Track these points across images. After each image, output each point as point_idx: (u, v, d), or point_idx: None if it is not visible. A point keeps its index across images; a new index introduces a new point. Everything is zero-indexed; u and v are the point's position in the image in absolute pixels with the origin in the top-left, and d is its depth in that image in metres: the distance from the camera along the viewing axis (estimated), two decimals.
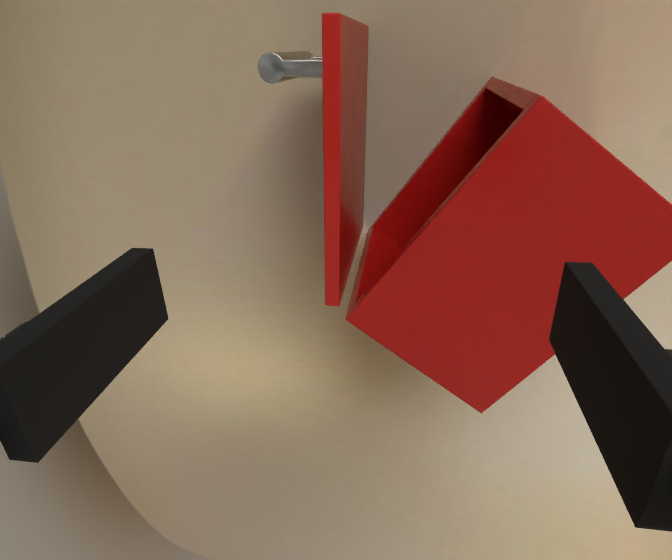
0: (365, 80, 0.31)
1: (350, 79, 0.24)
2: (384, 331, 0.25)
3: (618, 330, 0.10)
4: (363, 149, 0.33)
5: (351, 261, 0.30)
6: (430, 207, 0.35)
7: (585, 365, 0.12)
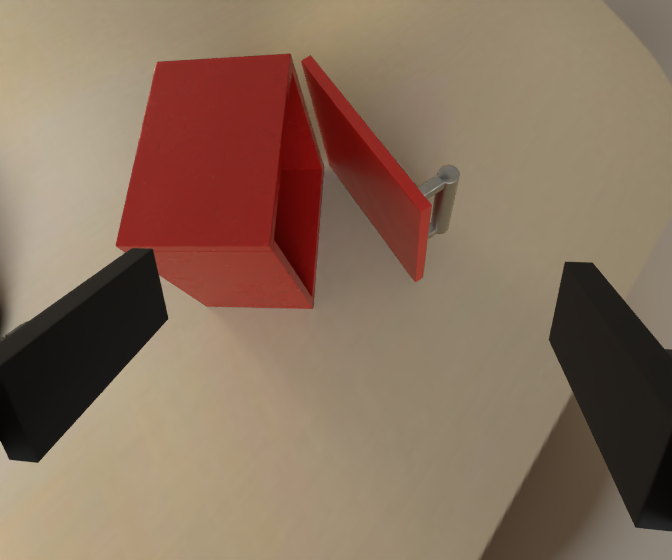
0: (393, 247, 0.39)
1: (394, 206, 0.31)
2: (259, 64, 0.31)
3: (618, 330, 0.10)
4: (364, 207, 0.40)
5: (316, 115, 0.36)
6: (292, 207, 0.42)
7: (585, 365, 0.12)
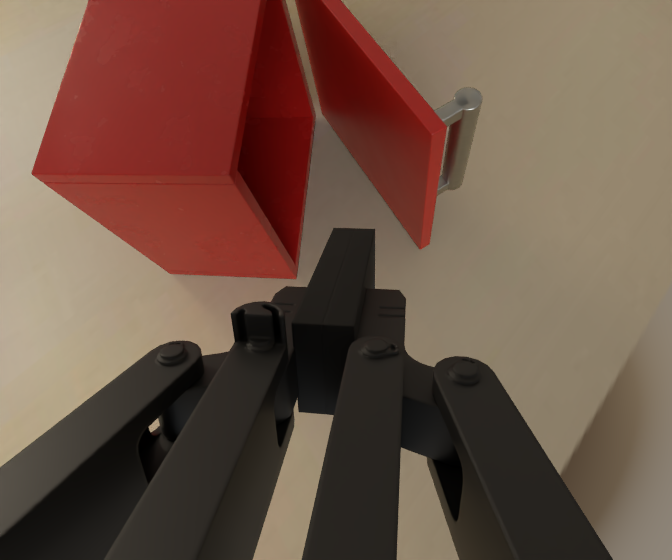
0: (394, 206, 0.32)
1: (397, 141, 0.24)
2: None
3: (343, 273, 0.13)
4: (361, 159, 0.34)
5: (305, 39, 0.30)
6: (276, 160, 0.36)
7: None
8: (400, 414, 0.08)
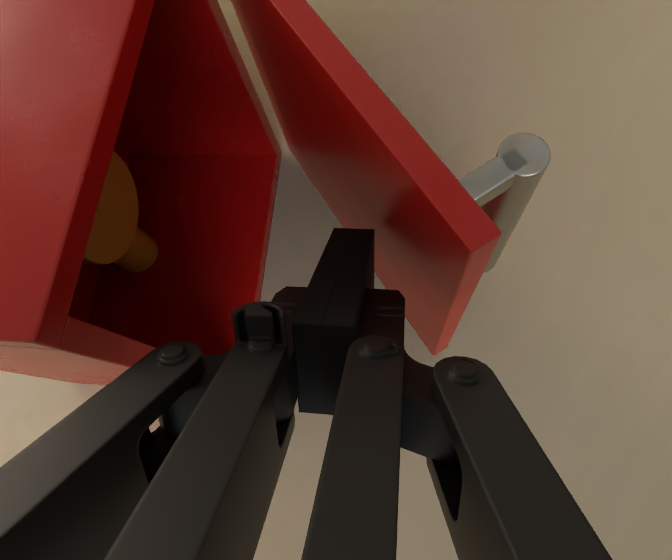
0: None
1: (398, 227, 0.14)
2: None
3: (342, 273, 0.13)
4: (343, 220, 0.23)
5: (251, 48, 0.19)
6: (223, 217, 0.25)
7: None
8: (400, 414, 0.08)
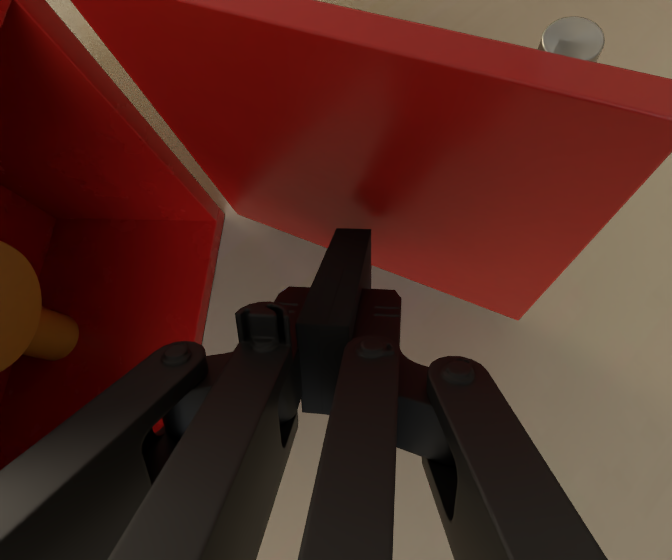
0: (445, 284, 0.19)
1: (488, 188, 0.11)
2: None
3: (338, 273, 0.13)
4: None
5: (166, 117, 0.16)
6: (153, 294, 0.22)
7: None
8: (396, 413, 0.08)
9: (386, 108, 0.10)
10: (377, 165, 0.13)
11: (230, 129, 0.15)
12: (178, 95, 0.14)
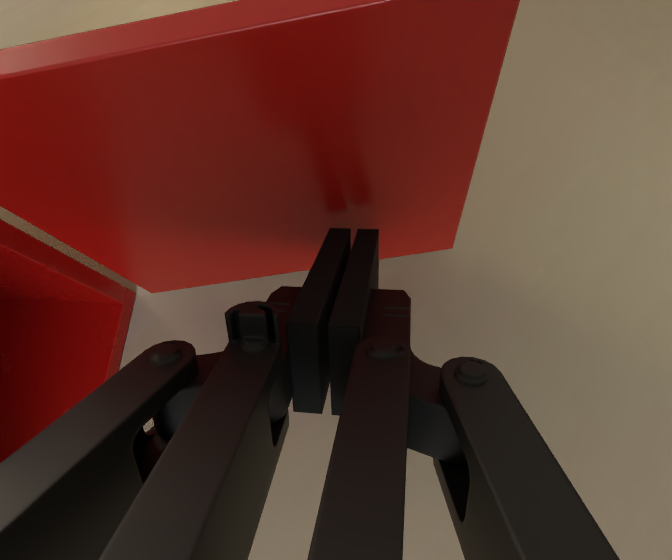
0: None
1: (383, 125, 0.12)
2: None
3: (347, 273, 0.13)
4: (273, 264, 0.20)
5: (39, 222, 0.15)
6: (51, 385, 0.21)
7: None
8: (406, 415, 0.08)
9: (264, 91, 0.10)
10: (275, 157, 0.13)
11: (114, 198, 0.14)
12: (44, 188, 0.13)
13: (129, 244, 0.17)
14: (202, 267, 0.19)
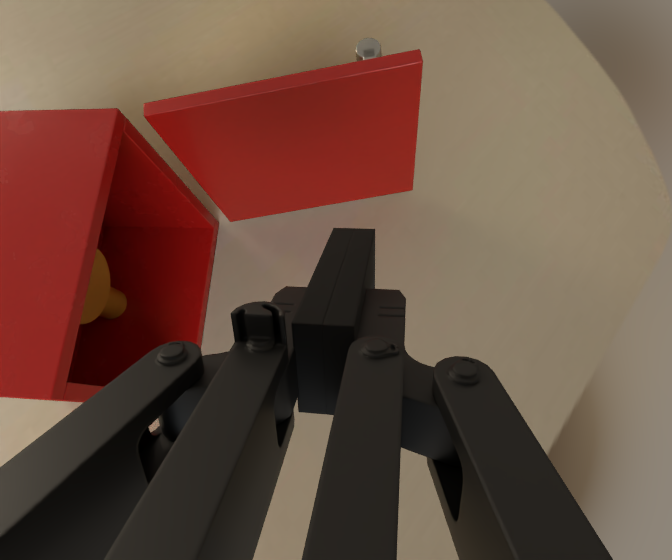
0: (368, 190, 0.34)
1: (370, 118, 0.26)
2: (75, 122, 0.23)
3: (343, 273, 0.13)
4: (307, 200, 0.34)
5: (193, 170, 0.28)
6: (174, 276, 0.34)
7: None
8: (400, 414, 0.08)
9: (318, 105, 0.24)
10: (318, 134, 0.27)
11: (236, 156, 0.28)
12: (206, 151, 0.27)
13: (232, 185, 0.30)
14: (266, 202, 0.33)
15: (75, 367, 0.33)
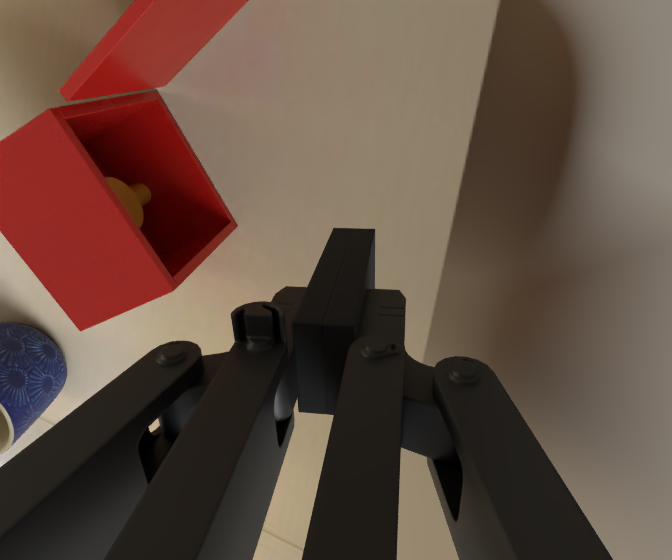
0: None
1: None
2: (34, 134, 0.30)
3: (343, 273, 0.13)
4: (206, 36, 0.37)
5: (118, 91, 0.34)
6: (161, 152, 0.43)
7: None
8: (400, 414, 0.08)
9: (167, 4, 0.28)
10: (181, 12, 0.30)
11: (138, 65, 0.32)
12: (117, 79, 0.32)
13: (148, 75, 0.36)
14: (179, 61, 0.38)
15: (153, 241, 0.48)
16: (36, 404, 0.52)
